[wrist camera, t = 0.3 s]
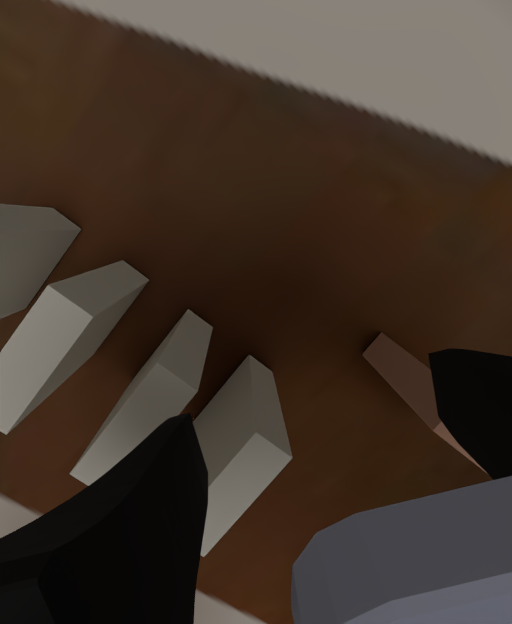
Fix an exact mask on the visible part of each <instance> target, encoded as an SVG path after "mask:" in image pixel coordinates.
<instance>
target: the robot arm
mask: <svg viewBox="0 0 512 624" xmlns="http://www.w3.org/2000/svg"><path fill="white" fill-rule="evenodd" d="M428 355H429V361H430V368H431V374H432V380H433V387H434V393H435V400H436V406H437V412H438V417H439V418H440V420H441V421H442V423H443V424H444V425H445V427H446V428H447V430H448V431H449V432H450V434H451V435H452V436H453V437H454V439H455V440H456V441H457V443H458V444H459V445H460V446H461V447H462V448H463V449H464V450H465V451H466V452H467V453H468V454H469V455H470V456H471V457H472V458H473V459H474V460H475V461H476V462H477V463H478V464H479V465H480V466H481V467H482V468H483V469H484V470H485V471H486V472H487V473H488V474H489V475H490V476H491V477H492V478H493V479H494V480H492V481H488V482H484V483H480V484H476V485H472V486H467V487H463V488H459V489H455V490H451V491H447V492H443V493H438V494H434V495H430V496H426V497H422V498H418V499H414V500H409V501H405V502H401V503H397V504H393V505H389V506H384V507H380V508H376V509H372V510H368V511H364V512H360V513H355V514H353V515H351V516H349V517H347V518H345V519H343V520H341V521H339V522H337V523H335V524H333V525H331V526H329V527H327V528H325V529H323V530H321V531H319V532H317V533H316V534H315V535H314V537H313V538H312V539H311V541H310V542H309V544H308V545H307V546H306V548H305V549H304V550H303V552H302V553H301V555H300V556H299V557H298V559H297V560H296V561H295V563H294V564H293V567H292V588H291V606H292V613H293V620H294V624H512V357H511V356H504V355H498V354H492V353H486V352H479V351H472V350H465V349H446V350H442V351H438V352H434V353H430V354H428ZM207 507H208V470H207V467H206V464H205V461H204V457H203V454H202V451H201V448H200V444H199V441H198V438H197V435H196V431H195V428H194V425H193V422H192V419H191V415H190V413H186V414H182V415H178V416H174V417H170V418H168V419H167V420H165V421H164V422H163V423H162V424H160V425H159V426H158V427H157V428H156V429H155V430H154V431H153V432H152V433H151V434H149V435H148V436H147V437H146V438H145V439H144V440H143V441H142V442H141V443H140V444H139V445H138V446H136V447H135V448H134V449H133V450H132V451H131V452H130V453H129V454H127V455H126V456H125V457H124V458H123V459H122V460H120V461H119V462H118V463H117V464H116V465H115V466H113V467H112V468H111V469H110V470H109V471H108V472H106V473H105V474H104V475H102V476H101V477H100V478H99V479H97V480H96V481H95V482H93V483H92V484H91V485H89V486H88V487H86V488H85V489H83V490H82V491H81V492H79V493H78V494H76V495H75V496H73V497H72V498H70V499H69V500H67V501H66V502H64V503H62V504H61V505H59V506H57V507H56V508H54V509H52V510H51V511H49V512H48V513H46V514H44V515H43V516H41V517H39V518H38V519H36V520H34V521H33V522H31V523H29V524H27V525H25V526H23V527H21V528H20V529H18V530H16V531H14V532H12V533H10V534H8V535H6V536H5V537H3V538H0V624H193V622H194V602H195V590H196V581H197V574H198V567H199V561H200V554H201V548H202V541H203V535H204V528H205V521H206V514H207Z"/></svg>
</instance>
